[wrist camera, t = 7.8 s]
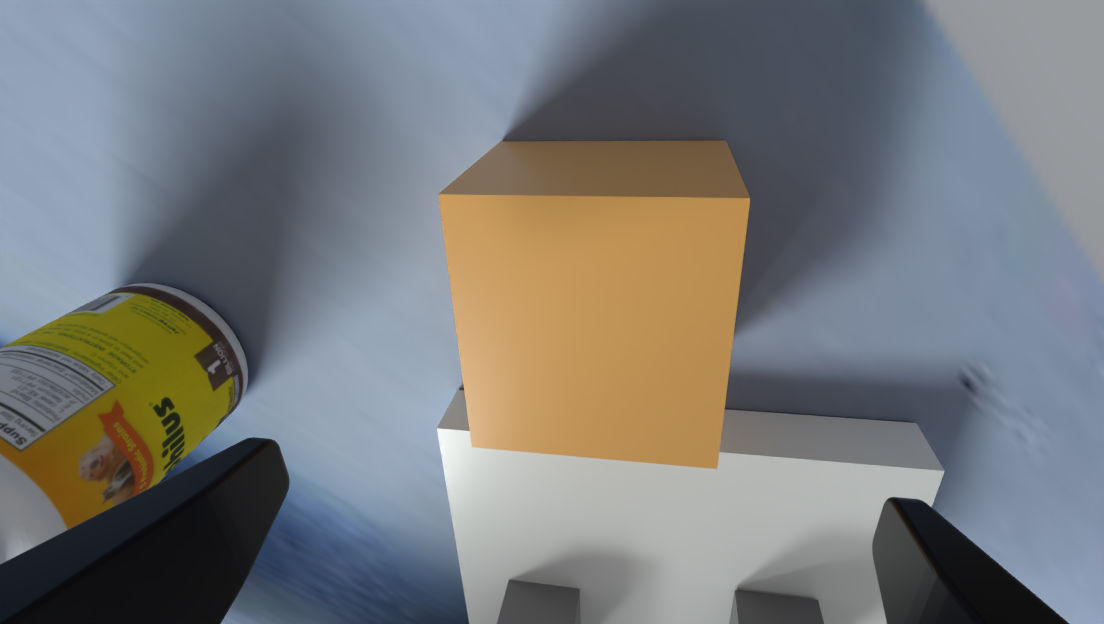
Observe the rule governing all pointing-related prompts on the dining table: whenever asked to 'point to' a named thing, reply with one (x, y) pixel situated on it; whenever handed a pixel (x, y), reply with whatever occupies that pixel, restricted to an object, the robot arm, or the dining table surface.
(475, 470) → the board
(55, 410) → the supplement bottle
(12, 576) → the robot arm
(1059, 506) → the dining table surface
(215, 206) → the dining table surface
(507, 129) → the dining table surface
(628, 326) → the orange block
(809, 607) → the block
